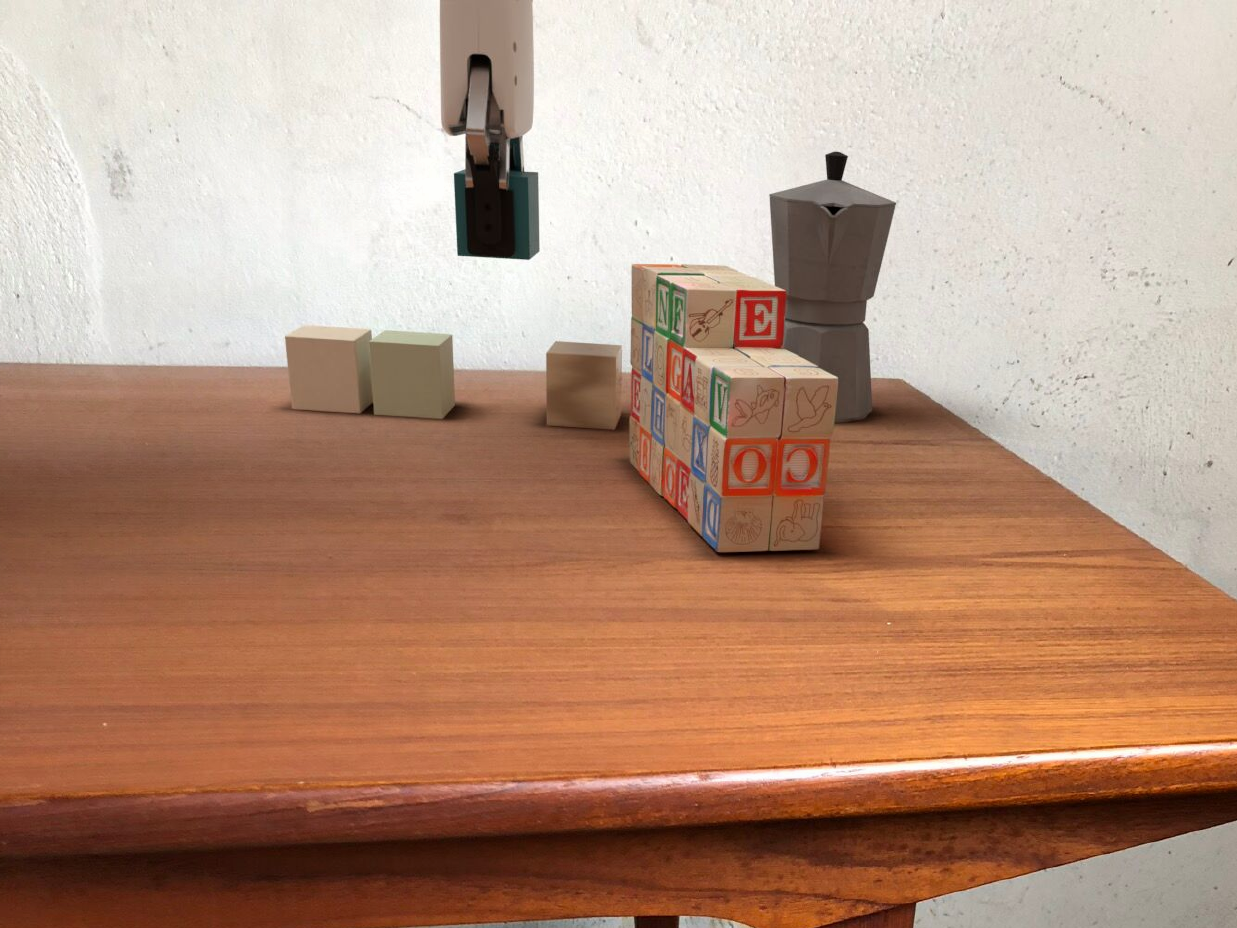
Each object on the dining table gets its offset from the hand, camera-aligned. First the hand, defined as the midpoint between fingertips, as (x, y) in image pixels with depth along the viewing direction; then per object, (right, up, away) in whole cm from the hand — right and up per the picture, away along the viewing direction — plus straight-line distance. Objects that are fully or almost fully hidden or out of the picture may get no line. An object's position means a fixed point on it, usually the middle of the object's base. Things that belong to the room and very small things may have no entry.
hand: (498, 247), depth 97 cm
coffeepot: (+23, -6, +15) cm, 28 cm away
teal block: (0, 0, 0) cm, 0 cm away
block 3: (+6, -10, +6) cm, 13 cm away
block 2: (-7, -9, +6) cm, 13 cm away
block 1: (-13, -9, +6) cm, 17 cm away
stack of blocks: (+15, -22, -12) cm, 29 cm away
